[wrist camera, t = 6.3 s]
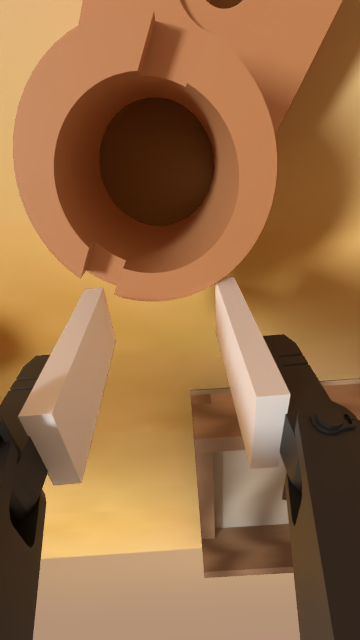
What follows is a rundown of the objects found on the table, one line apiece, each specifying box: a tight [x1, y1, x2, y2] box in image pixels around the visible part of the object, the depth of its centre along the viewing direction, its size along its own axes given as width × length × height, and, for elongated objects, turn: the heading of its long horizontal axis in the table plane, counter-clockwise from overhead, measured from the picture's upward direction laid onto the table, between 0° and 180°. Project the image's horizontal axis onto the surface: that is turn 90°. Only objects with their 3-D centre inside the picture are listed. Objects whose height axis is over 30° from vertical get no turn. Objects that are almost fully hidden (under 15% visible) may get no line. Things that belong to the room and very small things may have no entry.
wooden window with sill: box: [191, 379, 360, 578], centre depth 28 cm, size 17×23×4 cm
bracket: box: [13, 0, 343, 301], centre depth 10 cm, size 18×8×7 cm, turn 157°
